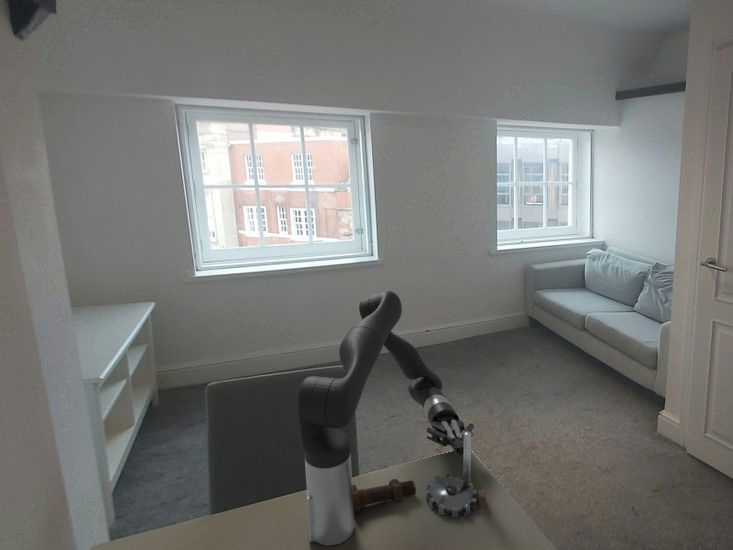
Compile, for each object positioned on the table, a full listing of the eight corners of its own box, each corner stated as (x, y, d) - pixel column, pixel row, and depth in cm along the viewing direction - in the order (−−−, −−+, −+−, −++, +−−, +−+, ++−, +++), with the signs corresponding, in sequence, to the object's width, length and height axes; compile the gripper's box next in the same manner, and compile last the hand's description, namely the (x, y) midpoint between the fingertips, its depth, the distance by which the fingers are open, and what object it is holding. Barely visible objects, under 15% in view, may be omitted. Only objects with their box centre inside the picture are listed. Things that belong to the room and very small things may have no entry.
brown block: (479, 506, 92) (479, 496, 91) (478, 499, 94) (478, 489, 93) (484, 506, 92) (484, 496, 91) (484, 500, 93) (484, 490, 93)
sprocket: (446, 525, 87) (446, 461, 84) (416, 491, 97) (415, 433, 94) (488, 505, 92) (489, 444, 89) (455, 475, 102) (455, 420, 99)
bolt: (415, 504, 96) (351, 517, 92) (408, 482, 99) (346, 494, 95) (420, 493, 92) (354, 506, 88) (413, 470, 96) (349, 482, 92)
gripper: (416, 403, 114) (434, 440, 97) (463, 399, 115) (489, 434, 98) (417, 428, 115) (434, 469, 98) (463, 424, 116) (488, 463, 100)
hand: (462, 451), depth 98 cm, fingers closed
